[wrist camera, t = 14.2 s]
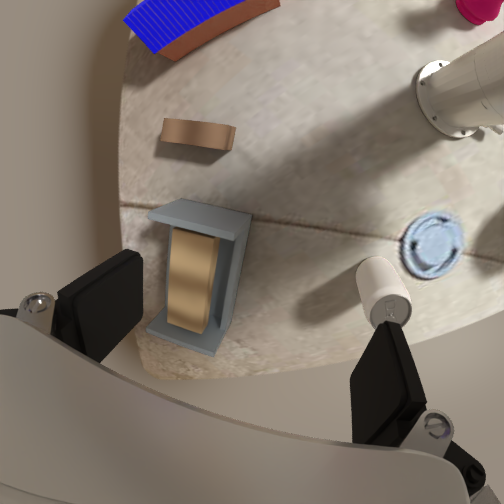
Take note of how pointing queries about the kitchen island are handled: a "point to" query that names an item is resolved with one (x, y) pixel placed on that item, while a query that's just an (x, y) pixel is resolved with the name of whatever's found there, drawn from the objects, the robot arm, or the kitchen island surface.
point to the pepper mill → (479, 10)
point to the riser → (198, 133)
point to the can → (382, 292)
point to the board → (191, 278)
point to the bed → (226, 273)
